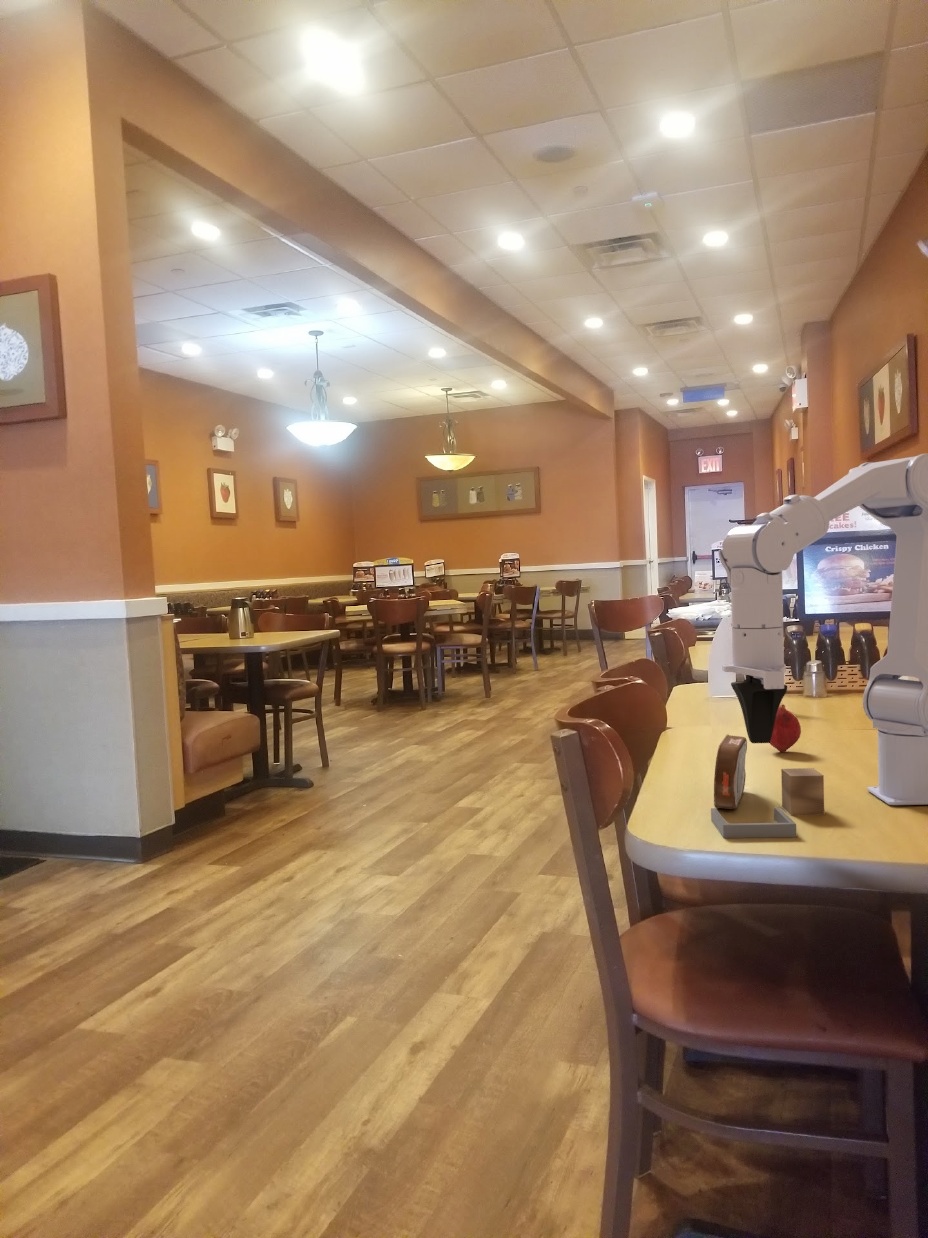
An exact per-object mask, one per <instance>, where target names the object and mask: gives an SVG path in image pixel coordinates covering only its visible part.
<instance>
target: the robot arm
mask: <svg viewBox="0 0 928 1238" xmlns="http://www.w3.org/2000/svg"><path fill="white" fill-rule="evenodd" d="M782 502H783V504H782V505H780V506H778V507H777V508H775V509H773V510H772V511H770V512H762V513H760V514H758V515H757V516H755V517H756V520H755V521H754V522H753V523H752V524H750V525H749V524H748V525H739V526H738V525H737V526H735V527H733V528H732V529H731V530H730V531H729V532H728V533H727V535H725V537H724V539H723V540H722V545H721V548H720V549H718V557H719V560H720V564H721V565H722V567H723V569H724V570H725V572H726V580H727V584H729V588H730V594H731V595H730V597H731V598H730V601H731V603H730V605H731V641H732V642H731V643H732V645H731V646H732V663H729V664H722V665H721V666H722V671H723V672H725V673H733V674H734V673H735V674H737V675H740V676H741V675H743V676H745V679H744V680H743V681H734V682H731V683H730V686H731V689H733V691H734V693H735V696H736V697H737V700H738V703H739V705H740V708H741V712H742V717H743V720H744V724H745V725H744V726H745V730H746V733H747V737H748V740H749V742H750V743H751V744H770V741H771V737H772V733H773V728H774V723H775V718H776V714H777V711H778V708H779V705H780V703H781V702H782V701H783V699H784V697H785V695H786V693H787V691H788V686H787V684H785V672H786V671H787V665H786V663H785V651H784V650H785V647H784V645H785V644H784V643H785V642H784V639H785V638H784V601H783V600H784V598H783V597H784V595H783V594H784V593H783V571H786V570H787V571H788V569H789V567H790V566H791V564H792V563H793V560H794V559H793V558H794V557H795V554H797V553H799V552H801V551H802V550H803V549H806V548H807V547H809V546H810V545H813V543H816V541H818V540H820V539H821V538H823V537H824V536H825V535H827V533H828V530H829V528H830V522H831V521H833V520H834V519H837V518H838V517H840V516H842V515H845V514H846V513H847V512H850V511H852V510H853V509H856V508H857V507H859V508H861V510H863V511H864V512H866V513H867V514H869V515H870V517H872V518H874V519H876V520H877V522H879V523H881V524H882V525H883V526H884V527H885V526H886V527H888V528H890V530H891V531H892V532H893V533H894V535H896V536H895V537H896V539H895V540H896V542H895V554H894V566H893V579H892V588H891V589H892V590H891V591H892V593H891V603H890V616H889V626H888V627H889V628H888V639H887V640H888V641H887V653H886V655H885V656H883V657H882V658H880V660H878V661H877V662H876V663H874V664H873V665H872V666H871V667H870V669H869V671H870V672H869V678H868V680H867V681H868V682H867V685H866V686H865V689H864V691H863V695H862V706H863V711H864V714H865V716H866V717H867V718H868V719H869V720H870V721H871V722H872V728H873V729H877V760H878V762H877V766H878V767H877V769H878V771H877V772H878V773H877V774H878V779H877V780H878V782H877V783H878V786H867V788H866V790H867V791H868V792H870V793H871V794H872V795H874V796H875V797H877V798H878V799H879V800H882V801H883V802H884V803H886V804H887V805H889V806H915V805H916V806H917V805H918V806H919V805H920V806H921V805H922V806H924V805H926V806H927V805H928V453H920V454H918V455H916V456H909V457H903V458H897V459H889V460H883V461H877V462H876V461H875V462H873V461H869V462H864V463H861V464H860V465H859V466H856V467H853V468H850V469H849V471H848V473H847V474H845V475H844V476H843V477H841V478H840V479H838V480H837V481H836V482H834V483H833V484H831V485H830V486H828V487H827V488H825V489H824V490H823V491H821V492H820V493H818V494H817V495H816V496H813V497H812V496H811V495H800V494H790V495H788V496H786V497H784V498H783V499H782ZM902 677H912V678H916V679H918V680H910V679H902ZM900 678H901V679H900ZM781 704H782V703H781Z"/></svg>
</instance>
